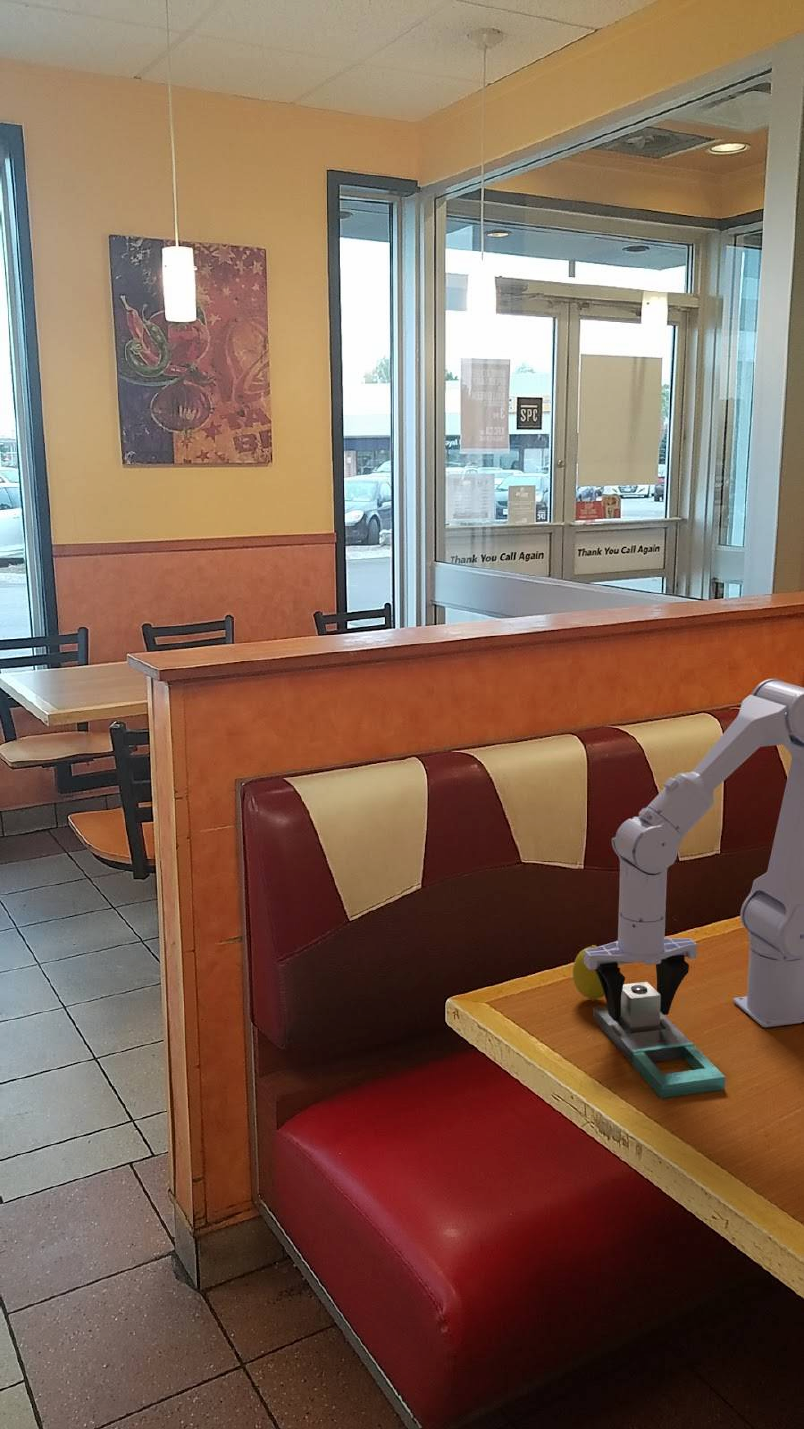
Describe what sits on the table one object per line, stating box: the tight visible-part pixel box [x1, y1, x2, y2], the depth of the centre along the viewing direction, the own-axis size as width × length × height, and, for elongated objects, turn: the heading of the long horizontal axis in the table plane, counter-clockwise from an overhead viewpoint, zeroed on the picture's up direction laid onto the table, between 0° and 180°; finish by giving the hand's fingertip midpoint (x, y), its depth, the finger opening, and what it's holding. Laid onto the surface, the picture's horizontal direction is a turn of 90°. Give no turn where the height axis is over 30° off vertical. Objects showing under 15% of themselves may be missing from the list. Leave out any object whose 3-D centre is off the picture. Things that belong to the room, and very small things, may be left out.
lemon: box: [572, 944, 605, 1002], centre depth 153 cm, size 6×6×8 cm
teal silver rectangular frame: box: [592, 1005, 726, 1099], centre depth 139 cm, size 8×20×2 cm, turn 13°
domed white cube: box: [617, 981, 661, 1034], centre depth 144 cm, size 4×4×6 cm
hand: (638, 1014), depth 144 cm, fingers open, 6 cm apart
